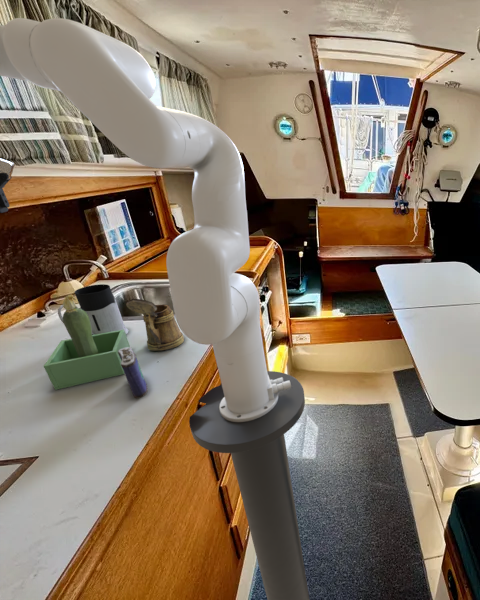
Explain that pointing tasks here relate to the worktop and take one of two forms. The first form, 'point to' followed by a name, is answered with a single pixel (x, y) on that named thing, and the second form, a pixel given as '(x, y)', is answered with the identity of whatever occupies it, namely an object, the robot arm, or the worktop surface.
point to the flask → (133, 372)
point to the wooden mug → (158, 324)
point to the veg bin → (86, 361)
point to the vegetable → (78, 328)
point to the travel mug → (99, 309)
